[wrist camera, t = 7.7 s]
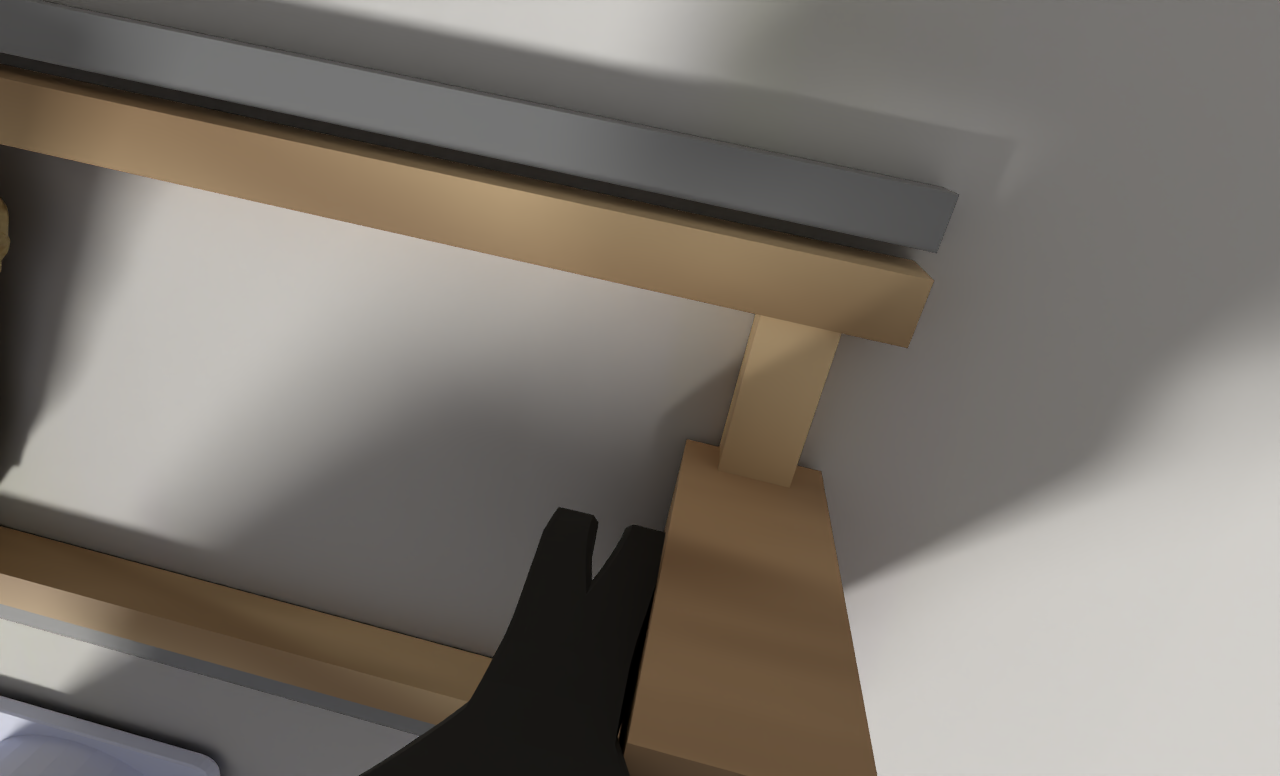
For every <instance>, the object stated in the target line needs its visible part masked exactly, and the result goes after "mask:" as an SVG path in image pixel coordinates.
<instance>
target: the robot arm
mask: <svg viewBox="0 0 1280 776" xmlns="http://www.w3.org/2000/svg"><path fill="white" fill-rule="evenodd" d="M598 523H599V522H598V521H597V519H596V518H595V517H594V515H590V514H586V513H582V512H578V511H574V510H570V509H565V508H561V507H558V509H557V510H556V512H555V513H554V515H553V516H552V517H551V519H550V521H549V522H548V524H547V526H546V527H545V529H544V531H543V534H542V536H541V539H540V542H539V545H538V548H537V550H536V553H535V556H534V559H533V562H532V564H531V567H530V570H529V573H528V576H527V579H526V582H525V584H524V587H523V590H522V593H521V596H520V599H519V601H518V604H517V607H516V610H515V613H514V615H513V618H512V620H511V622H510V625H509V627H508V629H507V632H506V634H505V636H504V638H503V640H502V642H501V644H500V646H499V648H498V649H497V651H496V653H495V655H494V657H493V659H492V661H491V663H490V664H489V666H488V668H487V670H486V672H485V674H484V676H483V678H482V679H481V681H480V683H479V685H478V686H477V688H476V690H475V692H474V694H473V695H472V697H471V699H470V700H469V701H468V702H467V703H466V704H464V705H463V706H462V707H460V708H459V709H458V710H456V711H455V712H454V713H452V714H451V715H450V716H448V717H447V718H446V719H444V720H443V721H442V722H440V723H439V724H437V725H436V726H434V727H433V728H431V729H430V730H428V731H427V732H425V733H424V734H422V735H421V736H419V737H418V738H416V739H415V740H414V741H412V742H411V743H409V744H408V745H406V746H405V747H403V748H402V749H400V750H399V751H397V752H396V753H394V754H393V755H391V756H390V757H389V758H387V759H385V760H384V761H382V762H381V763H379V764H377V765H376V766H374V767H373V768H371V769H369V770H368V771H366V772H364V773H362V774H361V775H359V776H630V774H629V771H628V768H627V765H626V762H625V759H624V756H623V753H622V749H621V746H620V743H619V740H618V734H619V730H620V727H621V724H622V720H623V716H624V712H625V708H626V704H627V700H628V696H629V692H630V688H631V684H632V680H633V675H634V671H635V667H636V663H637V659H638V655H639V651H640V647H641V643H642V639H643V635H644V631H645V627H646V623H647V619H648V615H649V611H650V607H651V603H652V599H653V595H654V591H655V587H656V583H657V578H658V573H659V567H660V562H661V557H662V551H663V546H664V540H665V534H666V532H661V531H657V530H653V529H649V528H645V527H641V526H636V525H632V526H630V527H628V528H626V529H625V531H624V533H623V535H622V537H621V539H620V541H619V543H618V545H617V546H616V548H615V550H614V551H613V553H612V554H611V556H610V557H609V559H608V560H607V561H606V563H605V564H604V566H603V567H602V569H601V570H600V571H599V573H598V574H597V575H596V576H595V578H594V579H593V580H592V555H593V550H594V544H595V539H596V534H597V528H598ZM0 776H220V771H219V767H218V765H217V764H216V762H215V761H214V760H213V759H211V758H210V757H208V756H206V755H204V754H201V753H197V752H194V751H190V750H187V749H183V748H180V747H176V746H173V745H169V744H166V743H162V742H159V741H156V740H152V739H149V738H145V737H142V736H138V735H135V734H131V733H128V732H124V731H121V730H117V729H114V728H111V727H107V726H104V725H100V724H97V723H93V722H90V721H86V720H83V719H79V718H76V717H72V716H69V715H66V714H62V713H59V712H55V711H52V710H48V709H45V708H41V707H38V706H34V705H31V704H27V703H24V702H21V701H17V700H14V699H10V698H7V697H3V696H0Z"/></svg>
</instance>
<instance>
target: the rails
mask: <svg viewBox="0 0 1280 776" xmlns="http://www.w3.org/2000/svg"><path fill="white" fill-rule="evenodd" d="M0 52H1V53H5V54H10V55H15V56H19V57H24V58H29V59H33V60H38V61H43V62H47V63H52V64H57V65H61V66H66V67H71V68H75V69H80V70H85V71H89V72H94V73H99V74H103V75H108V76H113V77H117V78H122V79H127V80H131V81H136V82H141V83H145V84H150V85H155V86H159V87H164V88H169V89H173V90H178V91H183V92H187V93H192V94H197V95H201V96H206V97H211V98H215V99H220V100H225V101H229V102H234V103H239V104H243V105H248V106H253V107H257V108H262V109H267V110H271V111H276V112H281V113H285V114H290V115H295V116H299V117H304V118H309V119H313V120H318V121H323V122H327V123H332V124H337V125H341V126H346V127H351V128H355V129H360V130H365V131H369V132H374V133H379V134H383V135H388V136H393V137H397V138H402V139H407V140H411V141H416V142H421V143H425V144H430V145H435V146H439V147H444V148H449V149H453V150H458V151H463V152H467V153H472V154H477V155H481V156H486V157H491V158H495V159H500V160H505V161H509V162H514V163H519V164H523V165H528V166H533V167H537V168H542V169H547V170H551V171H556V172H561V173H565V174H570V175H575V176H579V177H584V178H589V179H593V180H598V181H603V182H607V183H612V184H617V185H621V186H626V187H631V188H635V189H640V190H645V191H649V192H654V193H659V194H663V195H668V196H673V197H677V198H682V199H687V200H691V201H696V202H701V203H705V204H710V205H715V206H719V207H724V208H729V209H733V210H738V211H743V212H747V213H752V214H757V215H761V216H766V217H771V218H775V219H780V220H785V221H789V222H794V223H799V224H803V225H808V226H813V227H817V228H822V229H827V230H831V231H836V232H841V233H845V234H850V235H855V236H859V237H864V238H869V239H873V240H878V241H883V242H887V243H892V244H897V245H901V246H906V247H911V248H915V249H920V250H925V251H929V252H934V253H937V251H938V249H939V246H940V244H941V241H942V238H943V236H944V233H945V231H946V228H947V225H948V223H949V220H950V217H951V215H952V212H953V210H954V207H955V204H956V202H957V199H958V197H959V194H957V193H955V192H952V191H950V190H948V189H946V188H944V187H939V186H934V185H929V184H925V183H920V182H915V181H910V180H905V179H901V178H896V177H891V176H886V175H881V174H876V173H872V172H867V171H862V170H857V169H852V168H847V167H843V166H838V165H833V164H828V163H823V162H818V161H814V160H809V159H804V158H799V157H794V156H790V155H785V154H780V153H775V152H770V151H765V150H761V149H756V148H751V147H746V146H741V145H736V144H732V143H727V142H722V141H717V140H712V139H708V138H703V137H698V136H693V135H688V134H683V133H679V132H674V131H669V130H664V129H659V128H654V127H650V126H645V125H640V124H635V123H630V122H626V121H621V120H616V119H611V118H606V117H601V116H597V115H592V114H587V113H582V112H577V111H572V110H568V109H563V108H558V107H553V106H548V105H543V104H539V103H534V102H529V101H524V100H519V99H515V98H510V97H505V96H500V95H495V94H490V93H486V92H481V91H476V90H471V89H466V88H461V87H457V86H452V85H447V84H442V83H437V82H433V81H428V80H423V79H418V78H413V77H408V76H404V75H399V74H394V73H389V72H384V71H379V70H375V69H370V68H365V67H360V66H355V65H351V64H346V63H341V62H336V61H331V60H326V59H322V58H317V57H312V56H307V55H302V54H297V53H293V52H288V51H283V50H278V49H273V48H268V47H264V46H259V45H254V44H249V43H244V42H240V41H235V40H230V39H225V38H220V37H215V36H211V35H206V34H201V33H196V32H191V31H186V30H182V29H177V28H172V27H167V26H162V25H158V24H153V23H148V22H143V21H138V20H133V19H129V18H124V17H119V16H114V15H109V14H104V13H100V12H95V11H90V10H85V9H80V8H75V7H71V6H66V5H61V4H56V3H51V2H47V1H42V0H0ZM0 618H1V619H5V620H8V621H12V622H16V623H19V624H23V625H26V626H30V627H33V628H37V629H41V630H44V631H48V632H51V633H55V634H58V635H62V636H66V637H69V638H73V639H76V640H80V641H83V642H87V643H91V644H94V645H98V646H101V647H105V648H108V649H112V650H116V651H119V652H123V653H126V654H130V655H133V656H137V657H141V658H144V659H148V660H151V661H155V662H158V663H162V664H166V665H169V666H173V667H176V668H180V669H183V670H187V671H191V672H194V673H198V674H201V675H205V676H208V677H212V678H216V679H219V680H223V681H226V682H230V683H233V684H237V685H241V686H244V687H248V688H251V689H255V690H258V691H262V692H266V693H269V694H273V695H276V696H280V697H283V698H287V699H291V700H294V701H298V702H301V703H305V704H308V705H312V706H316V707H319V708H323V709H326V710H330V711H333V712H337V713H341V714H344V715H348V716H351V717H355V718H358V719H362V720H366V721H369V722H373V723H376V724H380V725H383V726H387V727H391V728H394V729H398V730H401V731H405V732H408V733H412V734H416V735H419V736H421V735H422V734H424V733H425V732H427V731H428V730H430V729H431V728H433V727H434V726H436V725H434V724H430V723H427V722H423V721H420V720H416V719H412V718H409V717H405V716H402V715H398V714H394V713H391V712H387V711H384V710H380V709H376V708H373V707H369V706H366V705H362V704H358V703H355V702H351V701H348V700H344V699H341V698H337V697H333V696H330V695H326V694H323V693H319V692H315V691H312V690H308V689H305V688H301V687H297V686H294V685H290V684H287V683H283V682H279V681H276V680H272V679H269V678H265V677H261V676H258V675H254V674H251V673H247V672H243V671H240V670H236V669H233V668H229V667H226V666H222V665H218V664H215V663H211V662H208V661H204V660H200V659H197V658H193V657H190V656H186V655H182V654H179V653H175V652H172V651H168V650H164V649H161V648H157V647H154V646H150V645H146V644H143V643H139V642H136V641H132V640H128V639H125V638H121V637H118V636H114V635H111V634H107V633H103V632H100V631H96V630H93V629H89V628H85V627H82V626H78V625H75V624H71V623H67V622H64V621H60V620H57V619H53V618H49V617H46V616H42V615H39V614H35V613H31V612H28V611H24V610H21V609H17V608H13V607H10V606H6V605H3V604H0Z"/></svg>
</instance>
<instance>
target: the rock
mask: <svg viewBox="0 0 1280 776" xmlns="http://www.w3.org/2000/svg"><path fill="white" fill-rule="evenodd" d="M8 226H9V215H8V209H7V206H6V204H5V203H4V201H3V200H2V199H1V197H0V272H1V267H2V259H3V258H4V256H5V255H6V254H7V253H8V250H9V246H10V239H9V236H8Z"/></svg>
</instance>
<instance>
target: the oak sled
mask: <svg viewBox="0 0 1280 776" xmlns="http://www.w3.org/2000/svg"><path fill="white" fill-rule="evenodd" d="M0 144H2V145H6V146H11V147H15V148H20V149H24V150H29V151H33V152H38V153H42V154H46V155H51V156H55V157H60V158H64V159H69V160H73V161H78V162H82V163H86V164H91V165H95V166H100V167H104V168H109V169H113V170H118V171H122V172H126V173H131V174H135V175H140V176H144V177H149V178H153V179H158V180H162V181H166V182H171V183H175V184H180V185H184V186H189V187H193V188H198V189H202V190H206V191H211V192H215V193H220V194H224V195H229V196H233V197H238V198H242V199H246V200H251V201H255V202H260V203H264V204H269V205H273V206H278V207H282V208H286V209H291V210H295V211H300V212H304V213H309V214H313V215H318V216H322V217H327V218H331V219H335V220H340V221H344V222H349V223H353V224H358V225H362V226H367V227H371V228H375V229H380V230H384V231H389V232H393V233H398V234H402V235H407V236H411V237H415V238H420V239H424V240H429V241H433V242H438V243H442V244H447V245H451V246H455V247H460V248H464V249H469V250H473V251H478V252H482V253H487V254H491V255H495V256H500V257H504V258H509V259H513V260H518V261H522V262H527V263H531V264H535V265H540V266H544V267H549V268H553V269H558V270H562V271H567V272H571V273H575V274H580V275H584V276H589V277H593V278H598V279H602V280H607V281H611V282H615V283H620V284H624V285H629V286H633V287H638V288H642V289H647V290H651V291H656V292H660V293H664V294H669V295H673V296H678V297H682V298H687V299H691V300H696V301H700V302H704V303H709V304H713V305H718V306H722V307H727V308H731V309H736V310H740V311H744V312H749V313H753V314H755V317H754V321H753V324H752V328H751V332H750V335H749V339H748V343H747V346H746V350H745V354H744V357H743V361H742V365H741V368H740V372H739V376H738V379H737V383H736V387H735V390H734V394H733V398H732V401H731V405H730V409H729V412H728V416H727V420H726V423H725V427H724V431H723V434H722V438H721V442H720V445H719V447H718V446H713V445H709V444H705V443H701V442H697V441H693V440H688V439H687V440H686V444H685V448H684V452H683V456H682V460H681V465H680V469H679V473H678V477H677V481H676V485H675V489H674V493H673V497H672V501H671V505H670V509H669V513H668V517H667V521H666V525H665V530H664V532H666V534H665V540H664V546H663V551H662V557H661V562H660V567H659V573H658V578H657V583H656V587H655V591H654V595H653V599H652V603H651V607H650V611H649V615H648V619H647V623H646V627H645V631H644V635H643V639H642V643H641V647H640V651H639V655H638V659H637V663H636V667H635V671H634V675H633V680H632V684H631V688H630V692H629V696H628V700H627V704H626V708H625V712H624V716H623V720H622V724H621V727H620V730H619V734H618V740H619V743H620V746H621V749H622V753H623V756H624V759H625V762H626V765H627V768H628V771H629V774H630V776H877V772H876V766H875V761H874V756H873V750H872V745H871V739H870V734H869V728H868V723H867V718H866V712H865V707H864V701H863V696H862V690H861V685H860V679H859V674H858V669H857V663H856V658H855V652H854V647H853V641H852V636H851V631H850V625H849V620H848V614H847V609H846V603H845V598H844V593H843V587H842V582H841V576H840V571H839V565H838V560H837V555H836V549H835V544H834V538H833V533H832V527H831V522H830V517H829V511H828V506H827V500H826V495H825V489H824V484H823V479H822V473H821V471H818V470H813V469H809V468H805V467H801V466H797V464H798V461H799V458H800V455H801V452H802V449H803V447H804V444H805V441H806V438H807V435H808V432H809V429H810V426H811V423H812V420H813V417H814V414H815V411H816V408H817V405H818V402H819V399H820V396H821V393H822V390H823V387H824V384H825V381H826V378H827V375H828V373H829V370H830V367H831V364H832V361H833V358H834V355H835V352H836V349H837V346H838V343H839V340H840V337H841V334H847V335H851V336H856V337H860V338H864V339H869V340H873V341H878V342H882V343H887V344H891V345H896V346H900V347H904V348H908V346H909V344H910V341H911V339H912V336H913V334H914V331H915V328H916V326H917V323H918V321H919V318H920V316H921V313H922V310H923V308H924V305H925V303H926V300H927V298H928V295H929V292H930V290H931V287H932V285H933V282H934V280H933V279H932V278H931V277H930V276H929V275H928V274H927V273H926V272H925V271H924V270H923V269H922V268H921V267H920V266H919V265H918V264H917V263H916V262H915V261H913V260H908V259H903V258H899V257H894V256H889V255H885V254H880V253H875V252H871V251H866V250H862V249H857V248H852V247H848V246H843V245H838V244H834V243H829V242H824V241H820V240H815V239H811V238H806V237H801V236H797V235H792V234H787V233H783V232H778V231H773V230H769V229H764V228H760V227H755V226H750V225H746V224H741V223H736V222H732V221H727V220H722V219H718V218H713V217H709V216H704V215H699V214H695V213H690V212H685V211H681V210H676V209H671V208H667V207H662V206H658V205H653V204H648V203H644V202H639V201H634V200H630V199H625V198H620V197H616V196H611V195H606V194H602V193H597V192H593V191H588V190H583V189H579V188H574V187H569V186H565V185H560V184H555V183H551V182H546V181H542V180H537V179H532V178H528V177H523V176H518V175H514V174H509V173H504V172H500V171H495V170H491V169H486V168H481V167H477V166H472V165H467V164H463V163H458V162H453V161H449V160H444V159H440V158H435V157H430V156H426V155H421V154H416V153H412V152H407V151H402V150H398V149H393V148H389V147H384V146H379V145H375V144H370V143H365V142H361V141H356V140H351V139H347V138H342V137H337V136H333V135H328V134H324V133H319V132H314V131H310V130H305V129H300V128H296V127H291V126H286V125H282V124H277V123H273V122H268V121H263V120H259V119H254V118H249V117H245V116H240V115H235V114H231V113H226V112H222V111H217V110H212V109H208V108H203V107H198V106H194V105H189V104H184V103H180V102H175V101H171V100H166V99H161V98H157V97H152V96H147V95H143V94H138V93H133V92H129V91H124V90H119V89H115V88H110V87H106V86H101V85H96V84H92V83H87V82H82V81H78V80H73V79H68V78H64V77H59V76H55V75H50V74H45V73H41V72H36V71H31V70H27V69H22V68H17V67H13V66H8V65H4V64H0ZM0 604H3V605H6V606H10V607H13V608H17V609H21V610H24V611H28V612H31V613H35V614H39V615H42V616H46V617H49V618H53V619H57V620H60V621H64V622H67V623H71V624H75V625H78V626H82V627H85V628H89V629H93V630H96V631H100V632H103V633H107V634H111V635H114V636H118V637H121V638H125V639H128V640H132V641H136V642H139V643H143V644H146V645H150V646H154V647H157V648H161V649H164V650H168V651H172V652H175V653H179V654H182V655H186V656H190V657H193V658H197V659H200V660H204V661H208V662H211V663H215V664H218V665H222V666H226V667H229V668H233V669H236V670H240V671H243V672H247V673H251V674H254V675H258V676H261V677H265V678H269V679H272V680H276V681H279V682H283V683H287V684H290V685H294V686H297V687H301V688H305V689H308V690H312V691H315V692H319V693H323V694H326V695H330V696H333V697H337V698H341V699H344V700H348V701H351V702H355V703H358V704H362V705H366V706H369V707H373V708H376V709H380V710H384V711H387V712H391V713H394V714H398V715H402V716H405V717H409V718H412V719H416V720H420V721H423V722H427V723H430V724H434V725H437V724H439V723H440V722H442V721H443V720H444V719H446V718H447V717H448V716H450V715H451V714H452V713H454V712H455V711H456V710H458V709H459V708H460V707H462V706H463V705H464V704H466V703H467V702H468V701H469V700H470V699H471V697H472V695H473V694H474V692H475V690H476V688H477V686H478V685H479V683H480V681H481V679H482V678H483V676H484V674H485V672H486V670H487V668H488V666H489V664H490V663H491V661H492V658H489V657H485V656H481V655H478V654H474V653H470V652H466V651H463V650H459V649H455V648H452V647H448V646H444V645H440V644H437V643H433V642H429V641H426V640H422V639H418V638H414V637H411V636H407V635H403V634H400V633H396V632H392V631H388V630H385V629H381V628H377V627H374V626H370V625H366V624H362V623H359V622H355V621H351V620H348V619H344V618H340V617H336V616H333V615H329V614H325V613H322V612H318V611H314V610H310V609H307V608H303V607H299V606H296V605H292V604H288V603H284V602H281V601H277V600H273V599H270V598H266V597H262V596H258V595H255V594H251V593H247V592H244V591H240V590H236V589H232V588H229V587H225V586H221V585H218V584H214V583H210V582H206V581H203V580H199V579H195V578H192V577H188V576H184V575H180V574H177V573H173V572H169V571H166V570H162V569H158V568H154V567H151V566H147V565H143V564H140V563H136V562H132V561H128V560H125V559H121V558H117V557H114V556H110V555H106V554H102V553H99V552H95V551H91V550H88V549H84V548H80V547H76V546H73V545H69V544H65V543H62V542H58V541H54V540H50V539H47V538H43V537H39V536H36V535H32V534H28V533H24V532H21V531H17V530H13V529H10V528H6V527H2V526H0Z"/></svg>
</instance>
